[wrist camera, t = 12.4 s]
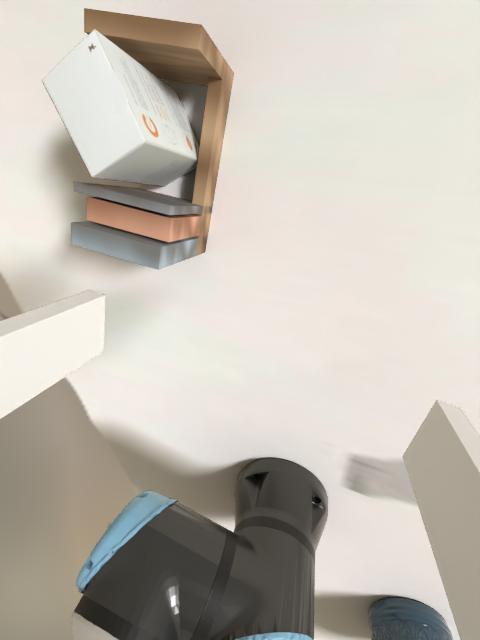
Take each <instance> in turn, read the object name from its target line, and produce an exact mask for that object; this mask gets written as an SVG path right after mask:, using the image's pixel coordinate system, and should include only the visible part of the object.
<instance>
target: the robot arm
mask: <svg viewBox="0 0 480 640" xmlns="http://www.w3.org/2000/svg"><path fill="white" fill-rule="evenodd" d="M104 327H105V295H104V294H100V293H97V292H94V291H91V290H88V291H85V292H82V293H79V294H77V295H74V296H71V297H68V298H65V299H62V300H59V301H57V302H54V303H51V304H48V305H45V306H42V307H40V308H37V309H34V310H31V311H28V312H25V313H22V314H20V315H17V316H14V317H11V318H8V319H5V320H2V321H0V419H1V418H3V417H4V416H5V415H7V414H9V413H10V412H12V411H13V410H15V409H16V408H18V407H19V406H21V405H22V404H24V403H26V402H27V401H29V400H30V399H32V398H33V397H35V396H36V395H38V394H39V393H41V392H42V391H44V390H45V389H47V388H49V387H50V386H51V385H53V384H55V383H56V382H58V381H59V380H61V379H62V378H64V377H65V376H67V375H69V374H70V373H72V372H73V371H75V370H76V369H78V368H79V367H81V366H82V365H84V364H85V363H87V362H88V361H90V360H92V359H93V358H95V357H96V356H98V355H99V354H101V353H102V352H104ZM403 459H404V462H405V466H406V469H407V472H408V475H409V478H410V481H411V484H412V488H413V491H414V494H415V497H416V500H417V503H418V507H419V510H420V513H421V516H422V519H423V522H424V525H425V529H426V532H427V535H428V538H429V541H430V544H431V548H432V551H433V554H434V557H435V560H436V563H437V566H438V570H439V573H440V576H441V579H442V582H443V585H444V589H445V592H446V595H447V598H448V601H449V604H450V608H451V611H452V614H453V617H454V620H455V623H456V626H457V630H458V633H459V636H460V639H461V640H480V435H479V434H478V432H477V431H476V430H475V428H474V427H473V425H472V424H471V422H470V421H469V419H468V418H467V416H466V415H465V413H464V412H463V411H462V409H461V408H460V407H458V406H455V405H452V404H448V403H445V402H442V401H439V400H436V402H435V403H434V405H433V407H432V408H431V410H430V412H429V413H428V415H427V417H426V418H425V420H424V422H423V423H422V425H421V427H420V428H419V430H418V432H417V433H416V435H415V437H414V438H413V440H412V442H411V443H410V445H409V447H408V448H407V450H406V452H405V453H404V455H403ZM234 502H235V530H234V533H233V532H231V531H230V530H228V529H226V528H224V527H222V526H220V525H219V524H217V523H215V522H213V521H211V520H209V519H207V518H206V517H204V516H202V515H200V514H198V513H196V512H195V511H193V510H191V509H189V508H187V507H185V506H183V505H182V504H180V503H178V500H176V499H170V498H168V497H166V496H164V495H161V494H159V493H157V492H155V491H145V492H143V493H141V494H139V495H138V496H136V497H135V498H134V499H133V500H132V501H131V502H130V503H129V504H128V505H127V506H126V507H125V508H124V509H123V510H122V512H121V513H120V514H119V515H118V516H117V518H116V519H115V520H114V521H113V523H112V524H111V525H110V526H109V528H108V529H107V530H106V532H105V533H104V534H103V536H102V537H101V539H100V540H99V542H98V543H97V545H96V546H95V548H94V549H93V550H92V552H91V554H90V557H89V558H88V560H87V561H86V563H85V564H84V566H83V567H82V569H81V571H80V573H79V575H78V577H77V581H76V585H77V587H78V589H79V592H80V593H83V594H84V595H83V597H82V598H81V600H80V602H79V603H78V605H77V607H76V609H75V610H74V612H73V614H72V629H73V630H72V632H73V640H314V585H315V551H316V548H317V546H318V543H319V540H320V537H321V535H322V532H323V529H324V526H325V524H326V521H327V516H328V498H327V494H326V491H325V488H324V487H323V485H322V483H321V482H320V481H319V480H318V478H317V477H316V476H315V475H313V474H312V473H311V472H310V471H308V470H307V469H305V468H304V467H302V466H300V465H298V464H296V463H293V462H290V461H287V460H283V459H276V458H266V459H260V460H256V461H254V462H251V463H250V464H248V465H247V466H245V467H244V468H243V469H242V471H241V472H240V474H239V477H238V480H237V483H236V486H235V492H234Z"/></svg>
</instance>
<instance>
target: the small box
mask: <svg viewBox="0 0 480 640" xmlns="http://www.w3.org/2000/svg"><path fill="white" fill-rule="evenodd" d="M42 82H43V84H44V86H45V88H46V90H47V92H48V94H49V96H50V98H51V100H52V101H53V103H54V105H55V107H56V109H57V111H58V113H59V115H60V117H61V119H62V121H63V123H64V125H65V127H66V129H67V131H68V132H69V134H70V136H71V138H72V140H73V142H74V144H75V146H76V148H77V150H78V152H79V154H80V156H81V158H82V160H83V162H84V164H85V166H86V168H87V169H88V171H89V173H90V175H91V177H92V178H99V179H108V180H116V181H125V182H134V183H141V184H150V185H159V186H166V185H168V184H169V183H171V182H173V181H174V180H176V179H178V178H179V177H181V176H183V175H184V174H186V173H188V172H190V171H191V170H193V169H195V168H196V167H197V163H198V155H199V148H200V147H199V145H198V142H197V140H196V137H195V135H194V133H193V130H192V128H191V126H190V123H189V121H188V118H187V116H186V114H185V111H184V109H183V107H182V104H181V102H180V100H179V97H178V95H177V93H176V91H175V90H173V89H172V88H171V87H169V86H168V85H167V84H166V83H164V82H163V81H162V80H160V79H159V78H158V77H156V76H155V75H154V74H152V73H151V72H150V71H148V70H147V69H146V68H145V67H143V66H142V65H141V64H140V63H138V62H137V61H136V60H134V59H133V58H132V57H131V56H129V55H128V54H127V53H125V52H124V51H123V50H121V49H120V48H119V47H118V46H116V45H115V44H114V43H112V42H111V41H110V40H108V39H107V38H106V37H105V36H103V35H102V34H101V33H99V32H98V31H97V30H96V29H94V30H93V31H92V32H91V33H90V34H89V35H88V36H87V37H86V38H85V39H83V40H82V41H81V42H80V43H79V44H78V45H77V46H76V47H75V48H74V49H73V50H72V51H71V52H70V53H69V54H68V55H67V56H65V57H64V58H63V59H62V60H61V61H60V62H59V63H58V64H57V65H56V66H55V67H54V68H53V69H52V70H51V71H50V72H49V73H48V74H47V75H46V76H45V77H44V78H43V79H42Z"/></svg>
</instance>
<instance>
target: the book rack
mask: <svg viewBox="0 0 480 640" xmlns="http://www.w3.org/2000/svg"><path fill="white" fill-rule="evenodd" d="M94 29H96V30H97V31H98V32H99V33H101V34H102V35H103V36H105V37H106V38H107V39H108V40H110V41H111V42H112V43H114V44H115V45H116V46H118V47H119V48H120V49H121V50H123V51H124V52H125V53H127V54H128V55H129V56H131V57H132V58H133V59H134V60H136V61H137V62H138V63H140V64H141V65H142V66H143V67H145V68H146V69H147V70H148V71H150V72H151V73H152V74H154V75H155V76H156V77H158V78H163V79H169V80H175V81H180V82H186V83H192V84H197V85H203V86H208V89H207V96H206V103H205V111H204V118H203V126H202V133H201V141H200V148H199V155H198V163H197V170H196V178H195V185H194V193H193V200H192V201H188V200H184V199H180V198H176V197H172V196H168V195H164V194H160V193H156V192H152V191H148V190H144V189H139V188H130V187H120V186H110V185H101V184H91V183H82V182H74V191H77V192H81V193H85V194H89V195H93V196H96V197H87V220H89V221H90V222H73V223H71V243H72V245H75V246H79V247H82V248H86V249H89V250H92V251H96V252H99V253H103V254H106V255H110V256H113V257H116V258H120V259H123V260H127V261H130V262H134V263H137V264H141V265H144V266H147V267H151V268H154V269H158V270H159V269H161V268H164V267H167V266H169V265H172V264H175V263H177V262H180V261H183V260H185V259H188V258H191V257H193V256H196V255H199V254H202V253H204V252H205V249H206V243H207V237H208V231H209V224H210V218H211V212H212V206H213V200H214V193H215V187H216V181H217V175H218V169H219V162H220V156H221V150H222V144H223V138H224V131H225V125H226V119H227V113H228V107H229V101H230V94H231V88H232V82H233V76H234V73H233V71H232V70H231V68H230V67H229V65H228V64H227V62H226V61H225V59H224V58H223V56H222V55H221V53H220V52H219V50H218V49H217V47H216V46H215V44H214V43H213V41H212V40H211V38H210V37H209V35H208V34H207V32H206V31H205V29H204V28H203V26H202V25H199V24H192V23H185V22H178V21H171V20H164V19H156V18H149V17H142V16H135V15H128V14H121V13H114V12H107V11H100V10H93V9H85V8H84V32H86V33H87V34H88V35H89V34H90V33H91V32H92V31H93V30H94Z"/></svg>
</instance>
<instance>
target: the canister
mask: <svg viewBox="0 0 480 640" xmlns="http://www.w3.org/2000/svg"><path fill="white" fill-rule="evenodd" d="M368 623H369V631H370V634H371V640H453V637H452V634H451V632H450V630H449V628H448V626H447V623H446V621H445V620H444V618H443V617H442V616H441V615H440V614H439V613H438V612H436V611H435V610H434V609H432V608H431V607H429V606H427V605H425V604H423V603H420V602H417V601H414V600H410V599H405V598H386V599H382V600H379V601H377V602H375V603H374V604H373V605H372V606H371V608H370V610H369V620H368Z"/></svg>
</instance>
